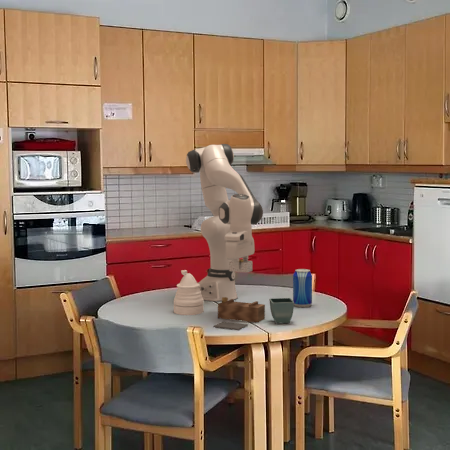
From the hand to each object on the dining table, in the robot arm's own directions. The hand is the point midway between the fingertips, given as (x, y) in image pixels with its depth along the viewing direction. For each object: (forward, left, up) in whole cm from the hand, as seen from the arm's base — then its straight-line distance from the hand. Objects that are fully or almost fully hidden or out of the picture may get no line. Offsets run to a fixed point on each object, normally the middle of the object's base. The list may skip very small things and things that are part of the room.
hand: (240, 268), depth 279 cm
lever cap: (0, 0, -1) cm, 1 cm away
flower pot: (+17, +2, -21) cm, 27 cm away
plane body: (0, 0, -21) cm, 21 cm away
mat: (+2, -14, -21) cm, 25 cm away
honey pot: (-26, +2, -21) cm, 34 cm away
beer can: (+14, +34, -21) cm, 43 cm away
